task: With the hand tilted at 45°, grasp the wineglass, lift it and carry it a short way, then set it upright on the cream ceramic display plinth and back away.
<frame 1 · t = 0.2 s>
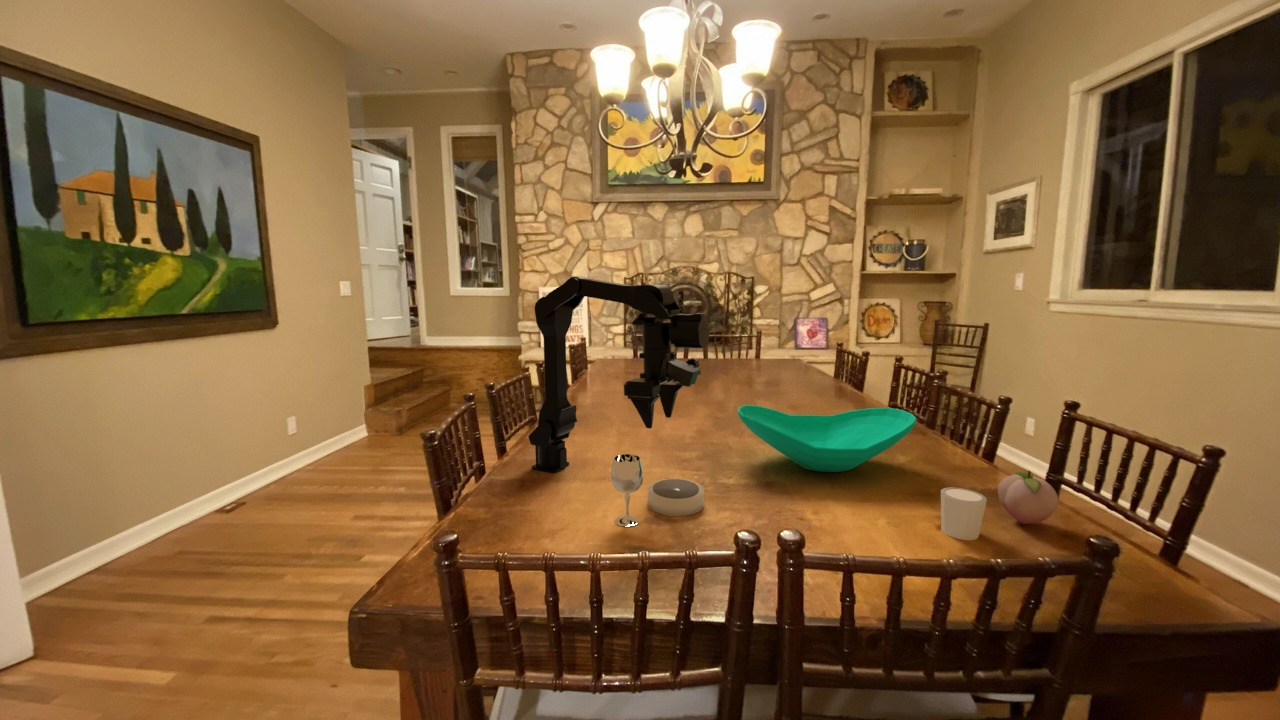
hand: (659, 422, 109), 14 cm above the table, tool pointing down, fingers open, 9 cm apart
white cup: (959, 533, 92), on the table
wineglass: (627, 522, 96), on the table
table top decor: (821, 467, 124), on the table
decorative fruit: (1024, 524, 96), on the table
display plinth: (675, 503, 104), on the table
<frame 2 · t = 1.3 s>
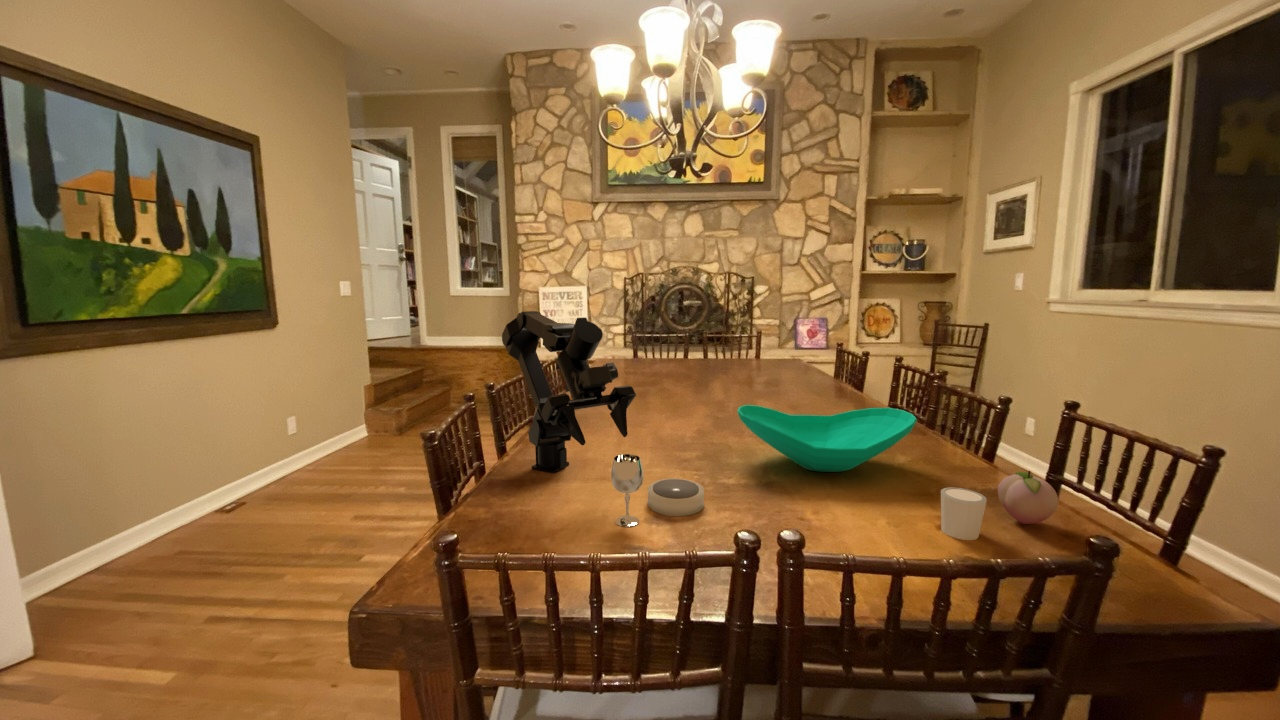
hand: (605, 440, 100), 13 cm above the table, tool tilted 45°, fingers open, 9 cm apart
nothing on the table moved.
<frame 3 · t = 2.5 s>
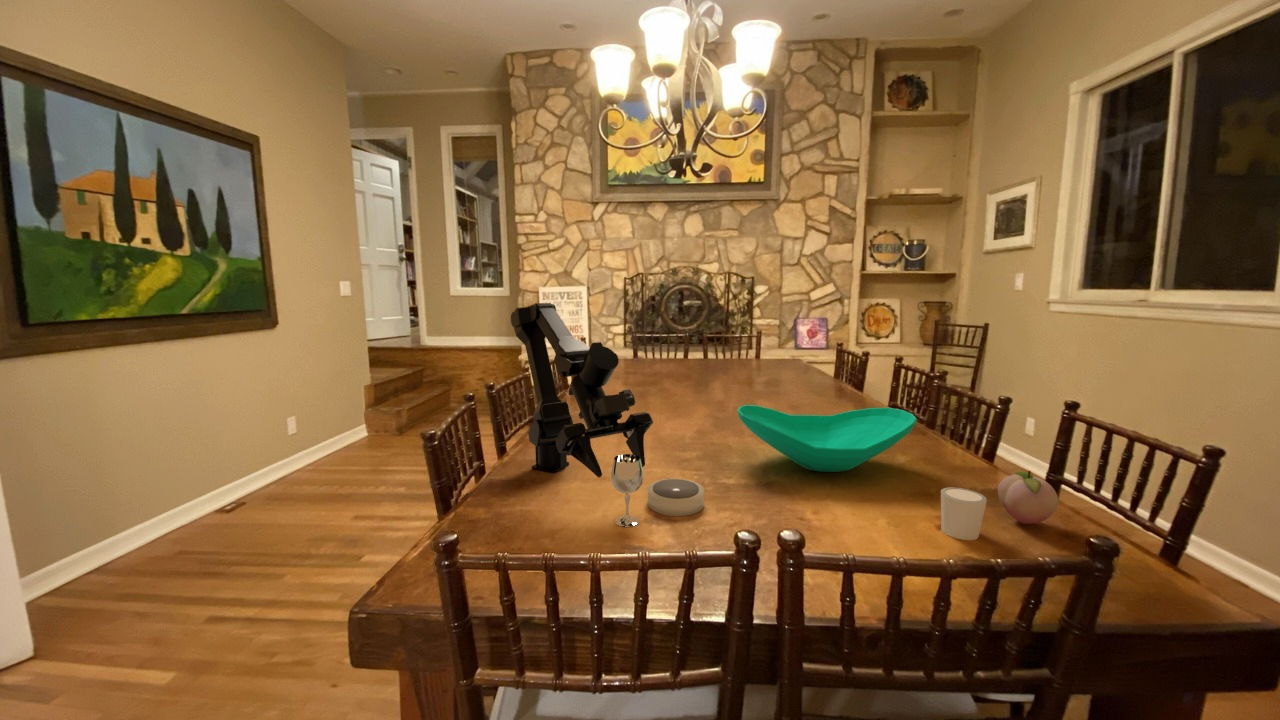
hand: (622, 471, 96), 9 cm above the table, tool tilted 45°, fingers open, 9 cm apart
nothing on the table moved.
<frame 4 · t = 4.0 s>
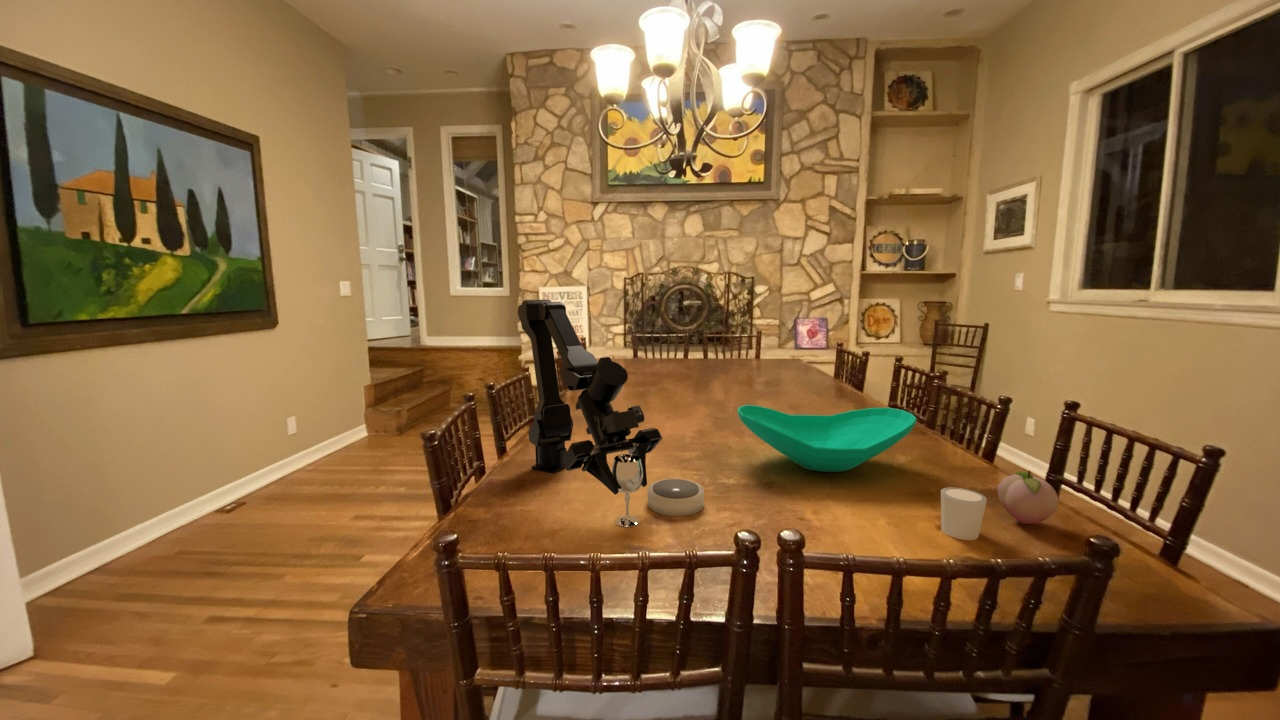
hand: (631, 489, 94), 7 cm above the table, tool tilted 45°, fingers closed on wineglass, 6 cm apart
wineglass: (627, 522, 96), on the table, touching gripper
everything else where it was.
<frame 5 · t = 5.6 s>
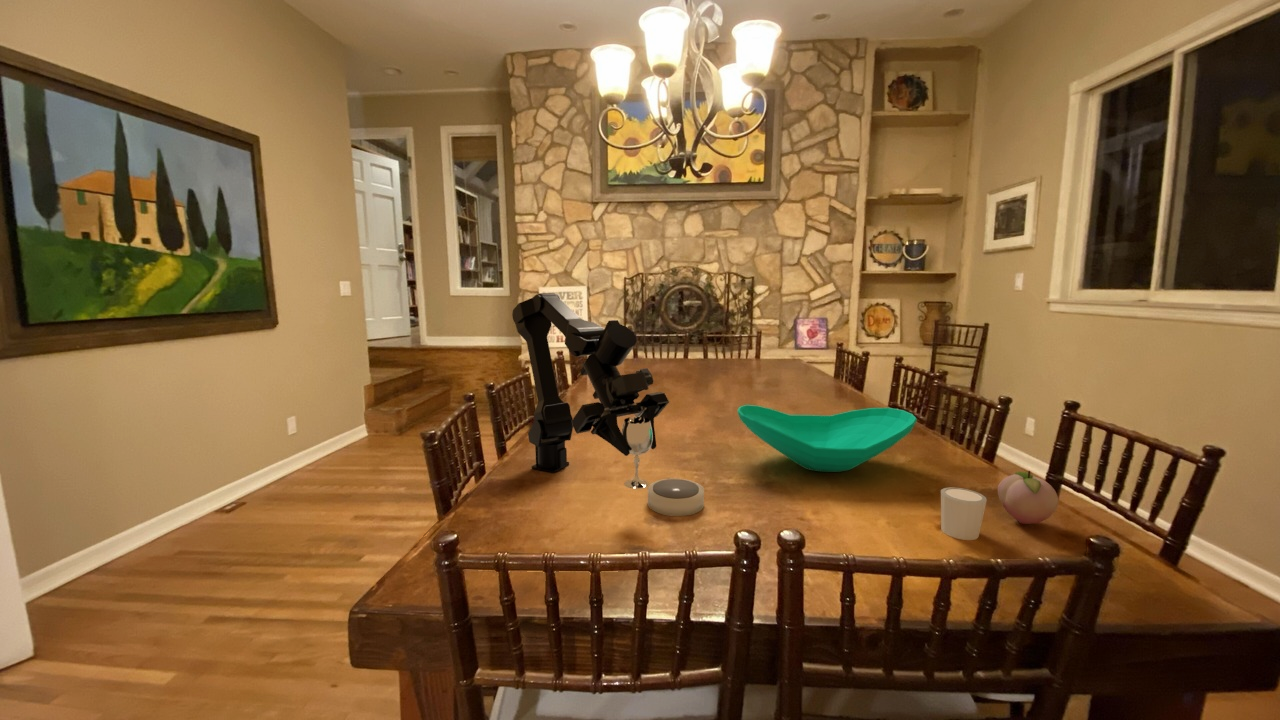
hand: (641, 451, 94), 13 cm above the table, tool tilted 45°, fingers closed on wineglass, 6 cm apart
wineglass: (636, 485, 96), point 6 cm above the table, touching gripper
everything else where it was.
when the fingers open (11 cm above the table, at t = 7.3 s): wineglass drops 1 cm, resting on display plinth.
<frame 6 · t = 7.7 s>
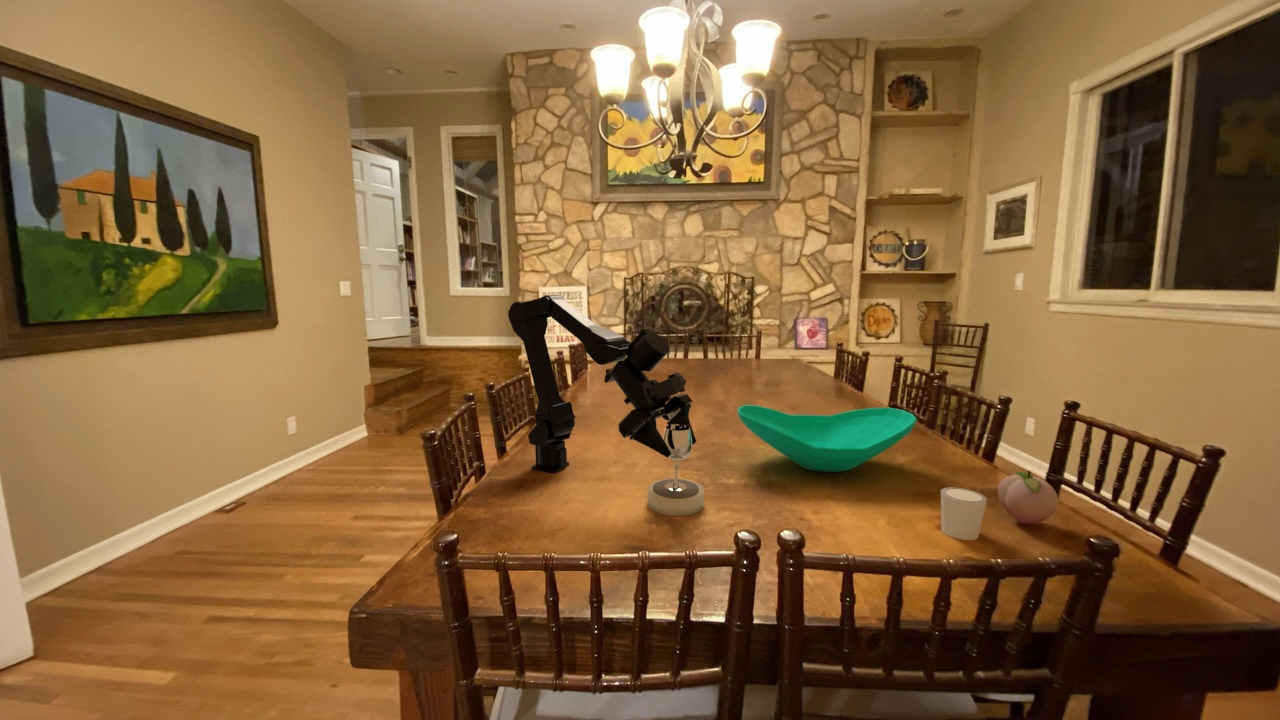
hand: (682, 449, 101), 11 cm above the table, tool tilted 45°, fingers open, 9 cm apart
wineglass: (675, 488, 103), point 3 cm above the table, touching display plinth
everything else where it was.
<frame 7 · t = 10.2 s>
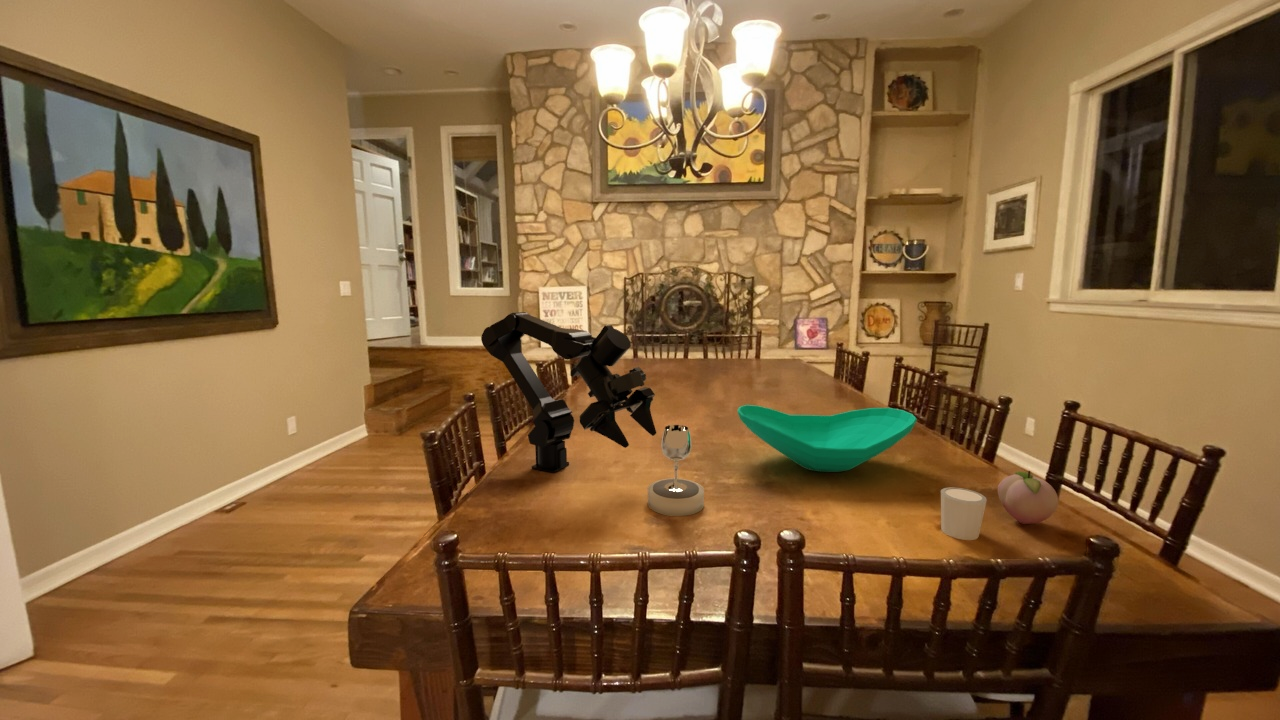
hand: (641, 440, 107), 11 cm above the table, tool tilted 45°, fingers open, 9 cm apart
nothing on the table moved.
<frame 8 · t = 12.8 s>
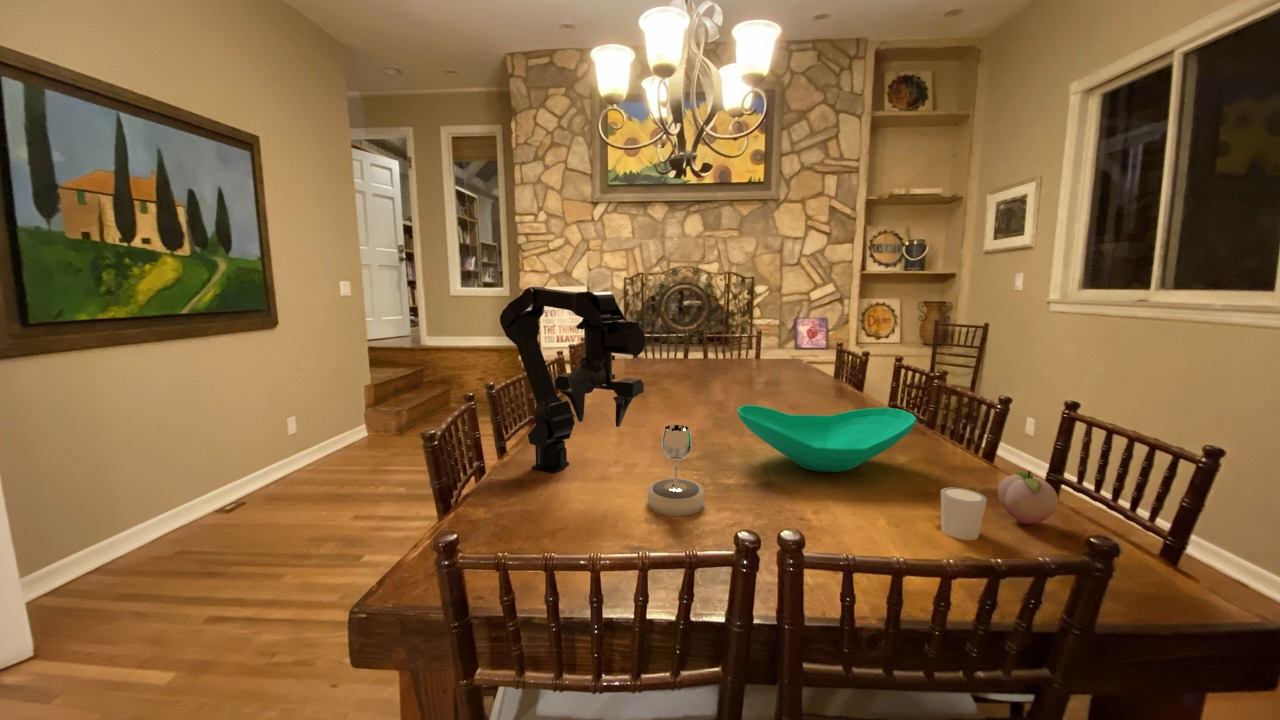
hand: (599, 424, 113), 13 cm above the table, tool pointing down, fingers open, 9 cm apart
nothing on the table moved.
at the end: wineglass 0.1 cm off-centre on the display plinth, point 3.1 cm above the display plinth's base; wineglass tilted 0°; the gripper is holding nothing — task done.
